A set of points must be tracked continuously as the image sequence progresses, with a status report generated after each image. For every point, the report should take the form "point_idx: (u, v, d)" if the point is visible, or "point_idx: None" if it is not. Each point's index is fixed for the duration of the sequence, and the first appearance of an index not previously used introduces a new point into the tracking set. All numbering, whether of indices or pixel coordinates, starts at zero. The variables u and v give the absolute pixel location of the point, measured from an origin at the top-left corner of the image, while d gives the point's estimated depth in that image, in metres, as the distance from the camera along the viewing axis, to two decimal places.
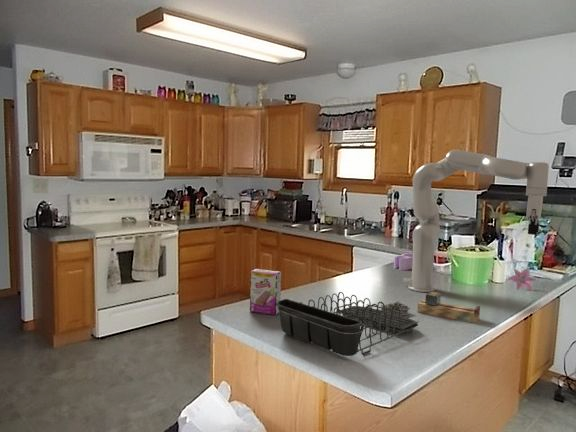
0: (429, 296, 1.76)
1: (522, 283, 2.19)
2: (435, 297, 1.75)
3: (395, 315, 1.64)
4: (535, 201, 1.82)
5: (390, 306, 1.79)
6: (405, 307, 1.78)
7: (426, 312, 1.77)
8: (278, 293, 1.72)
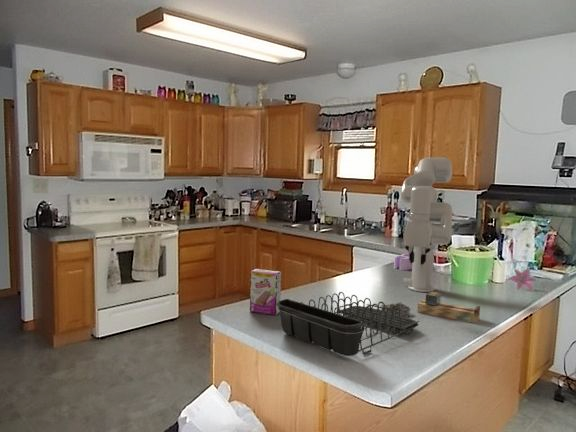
0: (429, 296, 1.76)
1: (523, 283, 2.18)
2: (435, 297, 1.75)
3: (395, 315, 1.64)
4: (431, 227, 1.77)
5: (391, 306, 1.79)
6: (406, 308, 1.77)
7: (426, 312, 1.77)
8: (278, 293, 1.72)
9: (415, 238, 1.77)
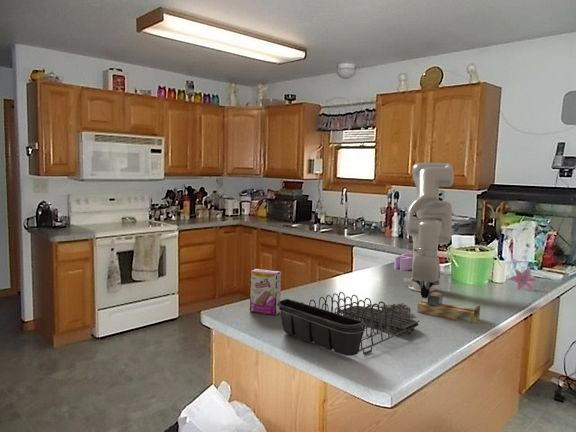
0: (431, 296, 1.76)
1: (523, 283, 2.18)
2: (437, 297, 1.74)
3: (396, 315, 1.64)
4: None
5: None
6: (408, 309, 1.76)
7: (426, 312, 1.77)
8: (278, 293, 1.72)
9: (423, 273, 1.77)
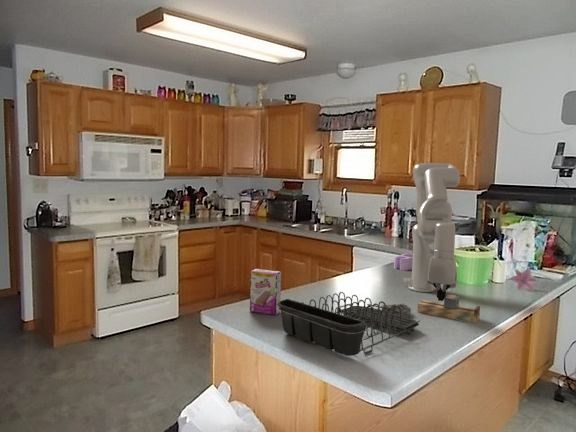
0: (448, 299, 1.72)
1: (523, 283, 2.18)
2: (454, 300, 1.71)
3: (396, 315, 1.64)
4: (455, 264, 1.73)
5: (393, 307, 1.79)
6: (408, 309, 1.75)
7: (426, 312, 1.77)
8: (278, 293, 1.72)
9: (439, 275, 1.73)
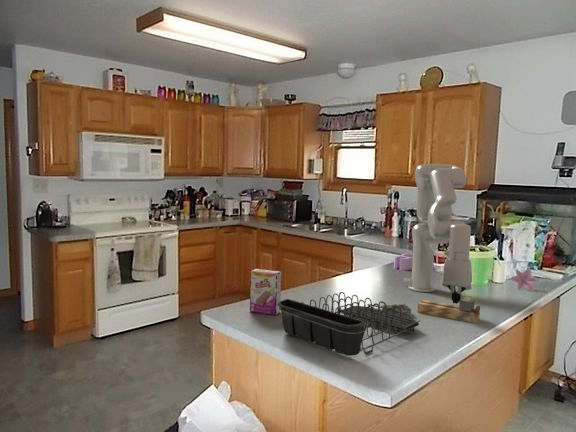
0: (463, 302, 1.69)
1: (524, 283, 2.18)
2: (470, 303, 1.68)
3: (396, 315, 1.64)
4: None
5: None
6: (408, 310, 1.75)
7: (426, 312, 1.77)
8: (278, 293, 1.72)
9: (454, 277, 1.70)
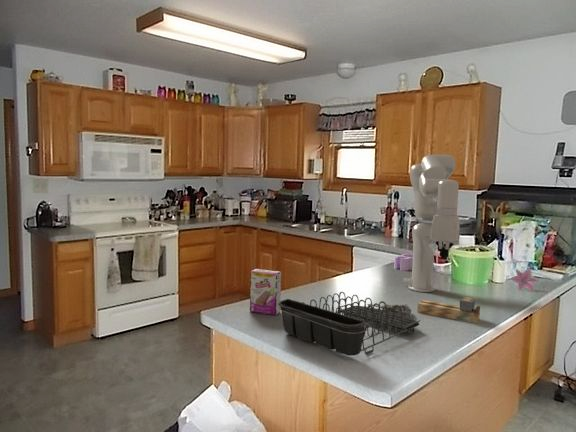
0: (463, 302, 1.69)
1: (524, 283, 2.18)
2: (470, 303, 1.68)
3: (396, 314, 1.64)
4: None
5: (395, 307, 1.78)
6: (409, 310, 1.74)
7: (426, 312, 1.77)
8: (278, 293, 1.72)
9: (442, 233, 1.72)
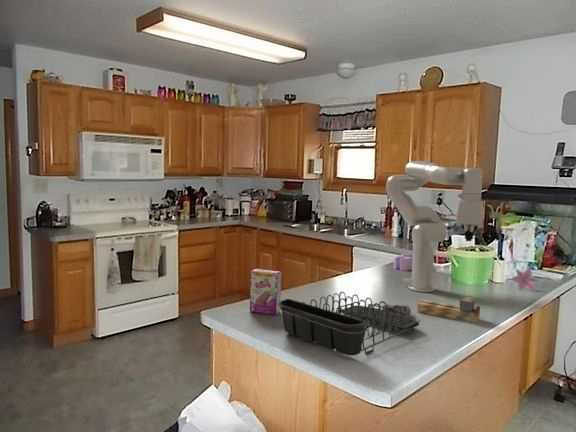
0: (463, 302, 1.69)
1: (524, 284, 2.18)
2: (470, 303, 1.68)
3: (396, 314, 1.65)
4: None
5: (396, 307, 1.78)
6: (409, 311, 1.73)
7: (426, 312, 1.77)
8: (278, 293, 1.72)
9: (467, 216, 1.87)
